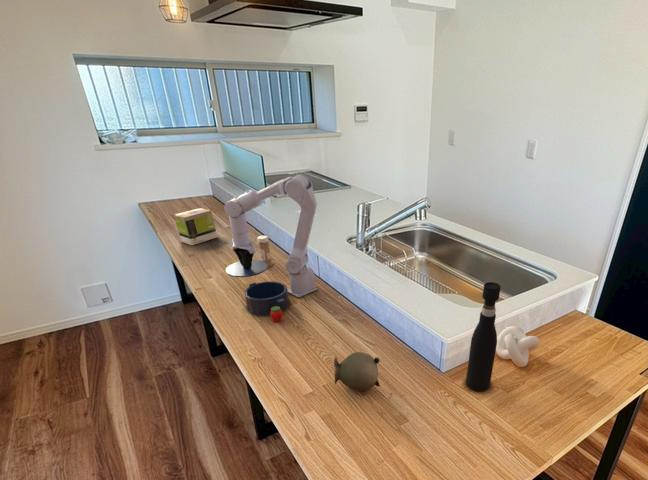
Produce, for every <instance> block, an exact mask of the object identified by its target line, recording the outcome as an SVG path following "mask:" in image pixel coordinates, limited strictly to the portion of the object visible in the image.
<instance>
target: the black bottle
mask: <svg viewBox="0 0 648 480" xmlns="http://www.w3.org/2000/svg"><path fill="white" fill-rule="evenodd" d="M501 287H502V286H501V285H500V284H499V283H497V282H491V281H490V282H489V281H488V282H485V283H484V284H483V289H482V296H481V297H482V299H483V300H484V302H483V306H482V307H481V311H480V313H479V320H478V323H477V324H476V327H474V330H473V333H472V336H471V339H470V348H469V355H468V362H467V368H466V369H467V371H466V376H465V377H466V378H465V385H466V387H467V388H468V389H469V390H471V391H473V392H477V393H482V392H487V391H488V390H489V389H490V387H491V381H492V375H493V369H494V363H495V357H496V353H497V351H496V346H497V339H498V333H497V330H496V317H497V314H496V310H497V308H496V302H497V301H498V300H499V299H500V293H501Z"/></svg>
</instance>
